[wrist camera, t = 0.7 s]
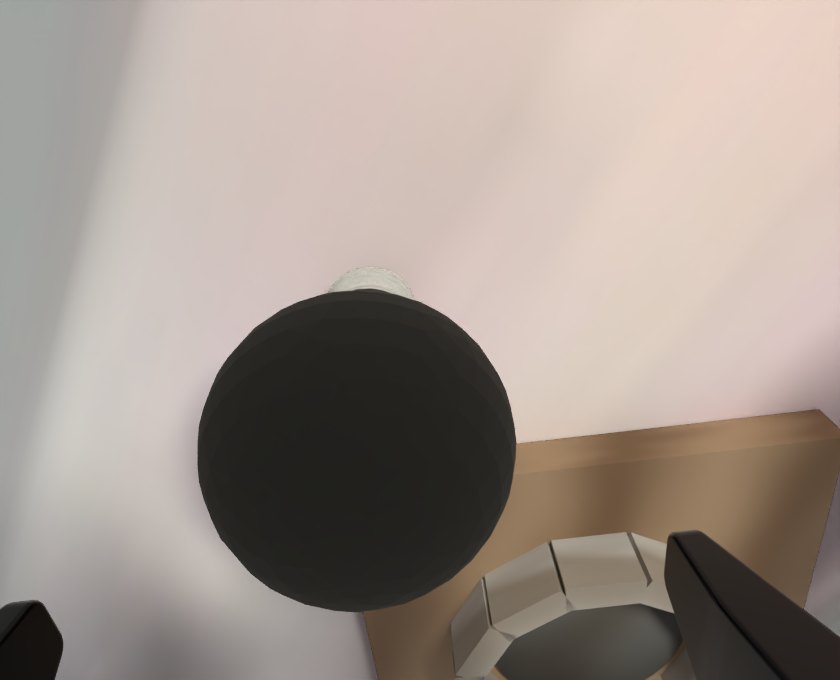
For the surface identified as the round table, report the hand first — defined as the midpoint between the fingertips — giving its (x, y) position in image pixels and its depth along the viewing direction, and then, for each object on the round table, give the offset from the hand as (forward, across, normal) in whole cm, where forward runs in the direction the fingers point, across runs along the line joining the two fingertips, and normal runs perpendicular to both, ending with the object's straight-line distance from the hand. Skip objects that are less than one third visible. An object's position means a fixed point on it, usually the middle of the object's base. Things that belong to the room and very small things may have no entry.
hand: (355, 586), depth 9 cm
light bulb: (+11, 0, 0) cm, 11 cm away
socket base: (+10, -6, +14) cm, 18 cm away
